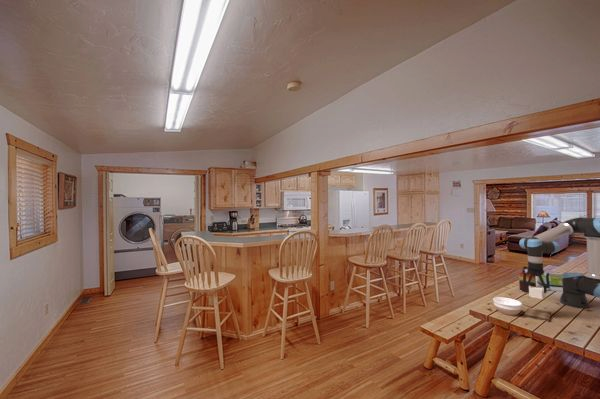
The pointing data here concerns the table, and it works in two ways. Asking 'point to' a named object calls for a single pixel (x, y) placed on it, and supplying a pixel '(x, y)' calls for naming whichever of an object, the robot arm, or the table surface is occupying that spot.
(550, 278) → the tea box
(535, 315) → the board
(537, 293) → the cube
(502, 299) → the bowl
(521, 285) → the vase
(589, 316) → the table surface
